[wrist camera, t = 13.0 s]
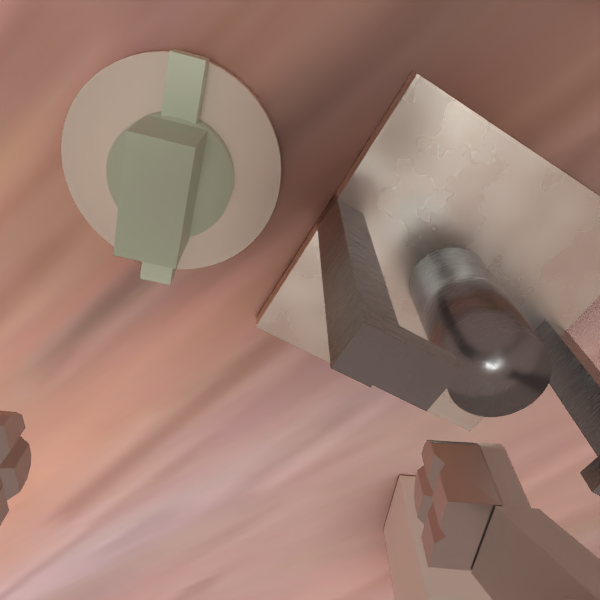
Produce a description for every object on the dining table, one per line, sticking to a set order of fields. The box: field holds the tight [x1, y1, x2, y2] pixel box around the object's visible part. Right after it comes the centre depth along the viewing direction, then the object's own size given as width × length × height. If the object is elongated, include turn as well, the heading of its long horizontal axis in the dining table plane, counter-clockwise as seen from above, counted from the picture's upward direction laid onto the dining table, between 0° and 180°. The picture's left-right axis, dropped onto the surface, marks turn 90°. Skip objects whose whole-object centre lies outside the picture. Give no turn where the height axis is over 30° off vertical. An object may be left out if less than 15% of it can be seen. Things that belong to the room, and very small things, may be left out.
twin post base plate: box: [256, 71, 600, 496], centre depth 26 cm, size 16×16×14 cm
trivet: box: [61, 50, 281, 270], centre depth 28 cm, size 11×11×1 cm
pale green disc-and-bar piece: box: [106, 49, 234, 285], centre depth 26 cm, size 6×11×5 cm, turn 166°
